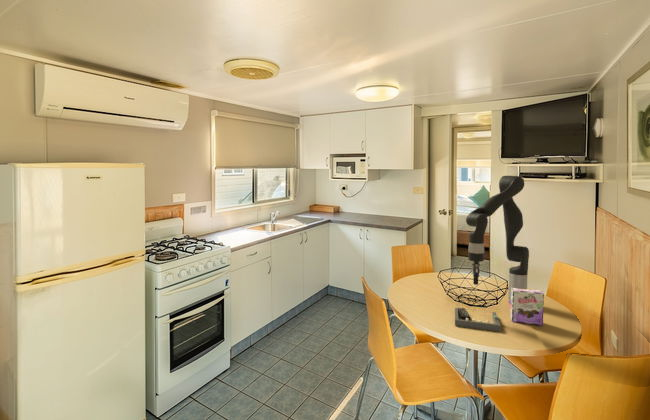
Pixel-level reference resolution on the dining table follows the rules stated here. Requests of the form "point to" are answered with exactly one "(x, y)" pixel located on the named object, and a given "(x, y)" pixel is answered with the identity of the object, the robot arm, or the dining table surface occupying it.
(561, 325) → the dining table surface
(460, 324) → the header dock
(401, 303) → the dining table surface
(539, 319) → the candy box
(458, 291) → the dining table surface
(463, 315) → the multiport hub
